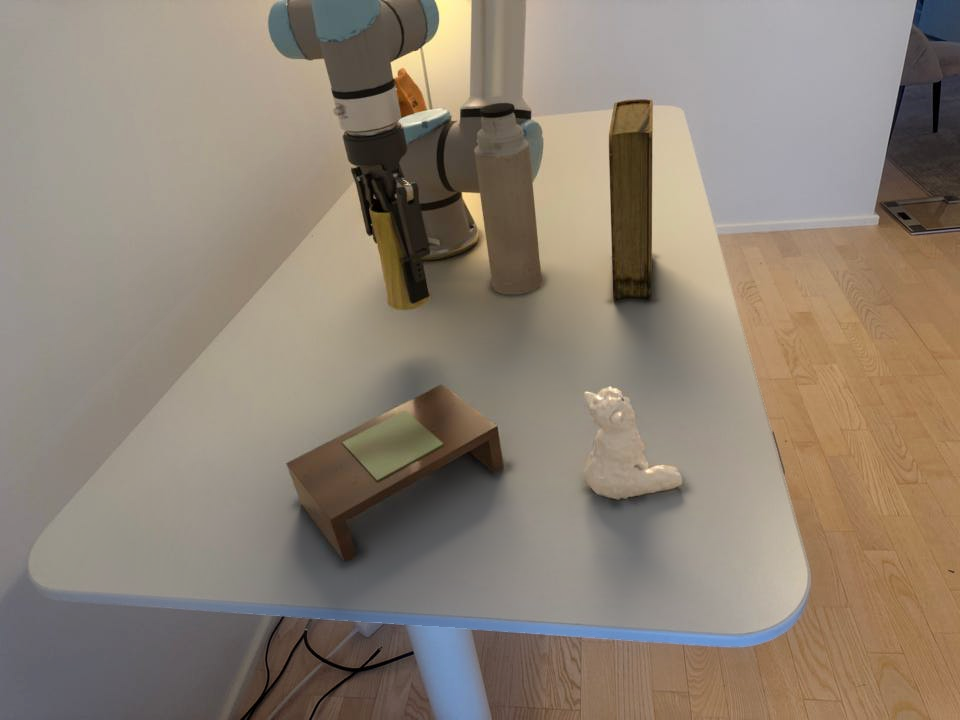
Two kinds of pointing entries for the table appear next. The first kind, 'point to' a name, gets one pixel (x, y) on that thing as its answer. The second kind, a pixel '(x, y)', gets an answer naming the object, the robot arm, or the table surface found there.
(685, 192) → the table surface
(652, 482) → the white creature statuette
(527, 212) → the thermos bottle
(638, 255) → the book
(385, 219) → the vase
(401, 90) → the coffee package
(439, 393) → the shelf
